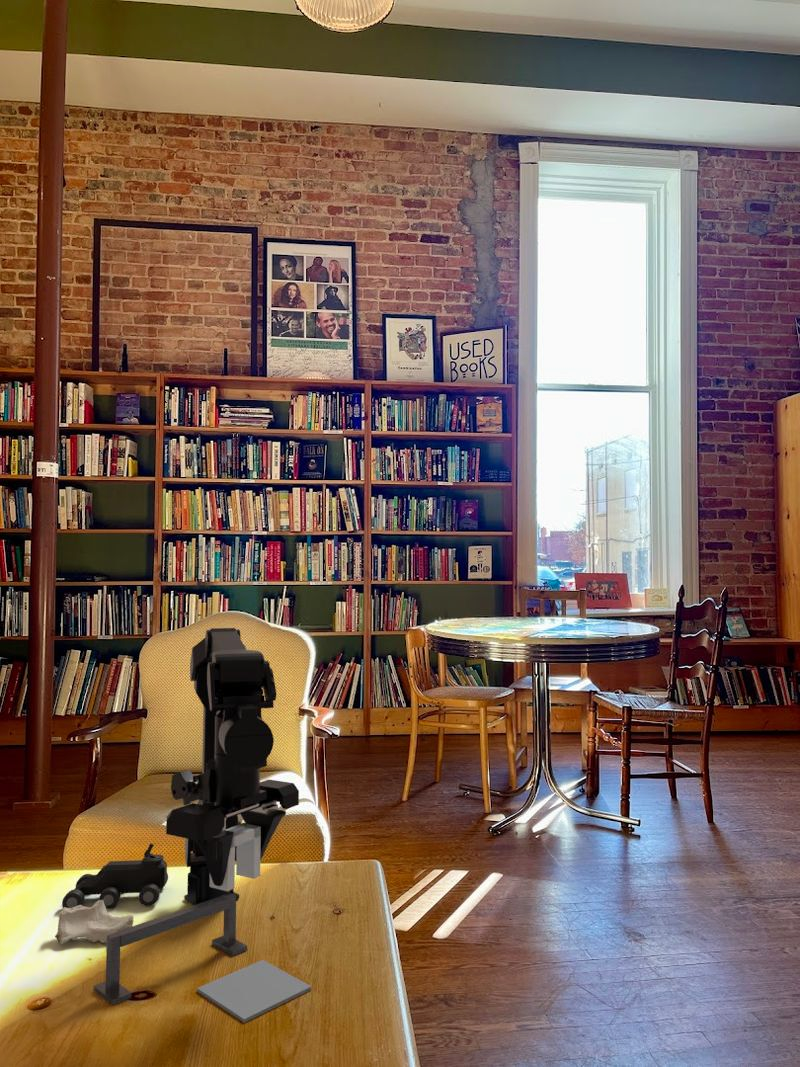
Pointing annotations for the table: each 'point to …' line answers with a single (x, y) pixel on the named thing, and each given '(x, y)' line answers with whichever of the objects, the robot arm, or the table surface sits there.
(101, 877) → the toy vehicle
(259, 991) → the mat
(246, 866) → the c link
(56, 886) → the table surface
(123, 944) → the stand
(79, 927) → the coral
